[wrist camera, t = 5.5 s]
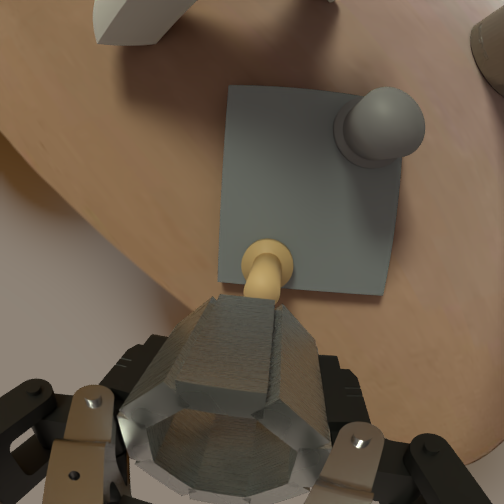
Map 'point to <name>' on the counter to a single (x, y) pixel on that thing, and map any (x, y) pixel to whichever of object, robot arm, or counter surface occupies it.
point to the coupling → (231, 406)
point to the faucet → (136, 20)
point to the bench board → (312, 187)
